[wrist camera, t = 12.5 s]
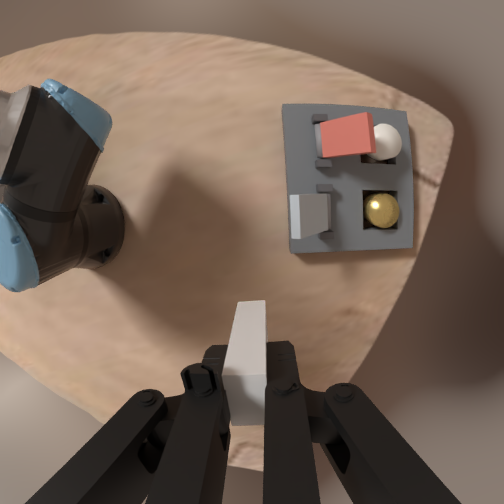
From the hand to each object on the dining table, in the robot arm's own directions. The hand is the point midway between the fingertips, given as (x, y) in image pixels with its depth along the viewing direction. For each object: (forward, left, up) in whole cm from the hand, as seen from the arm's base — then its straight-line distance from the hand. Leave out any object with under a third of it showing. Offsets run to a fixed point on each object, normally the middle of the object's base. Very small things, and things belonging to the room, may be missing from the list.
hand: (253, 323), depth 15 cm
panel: (+14, +9, -28) cm, 33 cm away
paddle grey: (+9, +4, -24) cm, 26 cm away
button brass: (+18, +4, -27) cm, 33 cm away
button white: (+18, +14, -25) cm, 34 cm away
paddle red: (+9, +14, -24) cm, 30 cm away
